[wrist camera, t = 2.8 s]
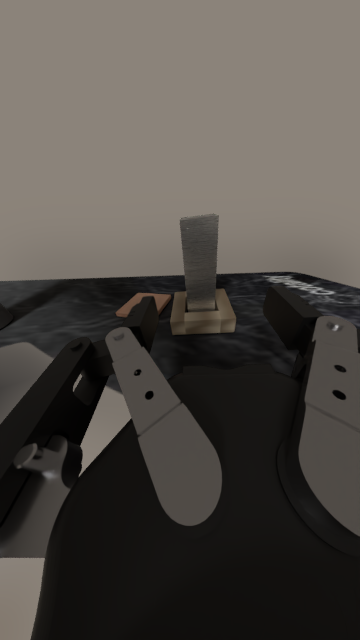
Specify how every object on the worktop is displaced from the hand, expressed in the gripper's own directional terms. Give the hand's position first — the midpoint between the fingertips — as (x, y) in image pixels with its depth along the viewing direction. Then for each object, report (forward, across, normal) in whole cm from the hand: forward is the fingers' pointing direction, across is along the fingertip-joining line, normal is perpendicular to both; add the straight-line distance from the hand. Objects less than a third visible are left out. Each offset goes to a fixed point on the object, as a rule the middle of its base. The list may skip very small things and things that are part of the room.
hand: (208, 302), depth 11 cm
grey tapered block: (+11, 0, +9) cm, 15 cm away
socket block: (+11, 0, +9) cm, 15 cm away
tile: (+15, +11, +9) cm, 21 cm away
